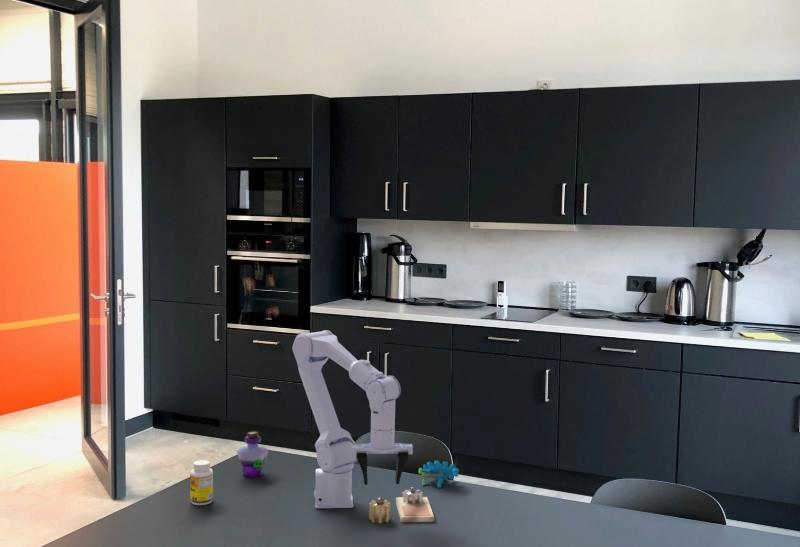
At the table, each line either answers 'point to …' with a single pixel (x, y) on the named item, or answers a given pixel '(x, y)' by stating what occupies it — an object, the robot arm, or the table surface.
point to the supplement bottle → (201, 483)
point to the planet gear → (379, 510)
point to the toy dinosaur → (438, 472)
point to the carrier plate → (414, 511)
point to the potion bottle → (252, 456)
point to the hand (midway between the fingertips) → (381, 483)
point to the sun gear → (412, 496)
